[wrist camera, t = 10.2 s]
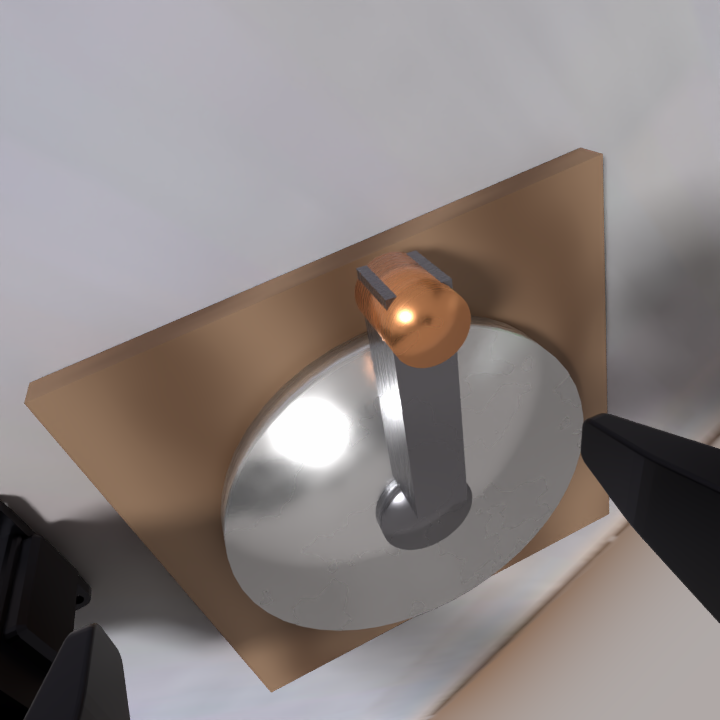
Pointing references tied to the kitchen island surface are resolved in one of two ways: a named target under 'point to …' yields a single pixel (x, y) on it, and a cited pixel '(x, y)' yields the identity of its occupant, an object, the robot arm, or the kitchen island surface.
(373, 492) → the handwheel
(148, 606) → the kitchen island surface
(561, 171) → the wheel base
